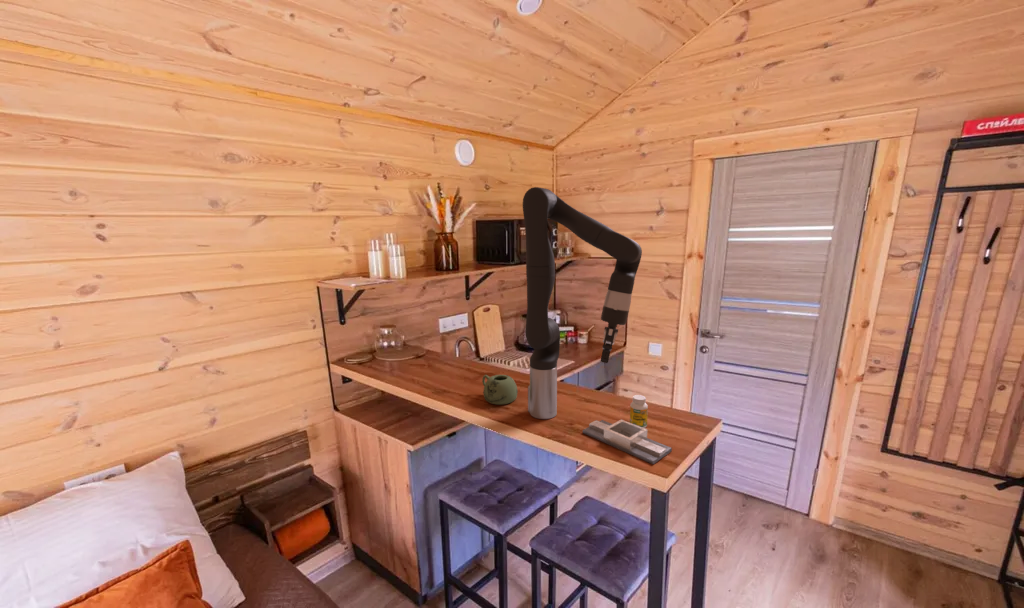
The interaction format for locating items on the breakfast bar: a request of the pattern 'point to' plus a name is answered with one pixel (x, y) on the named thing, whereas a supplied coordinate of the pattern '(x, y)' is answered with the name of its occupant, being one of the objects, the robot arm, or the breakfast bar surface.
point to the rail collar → (628, 439)
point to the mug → (499, 389)
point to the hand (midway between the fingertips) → (604, 359)
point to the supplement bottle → (639, 411)
